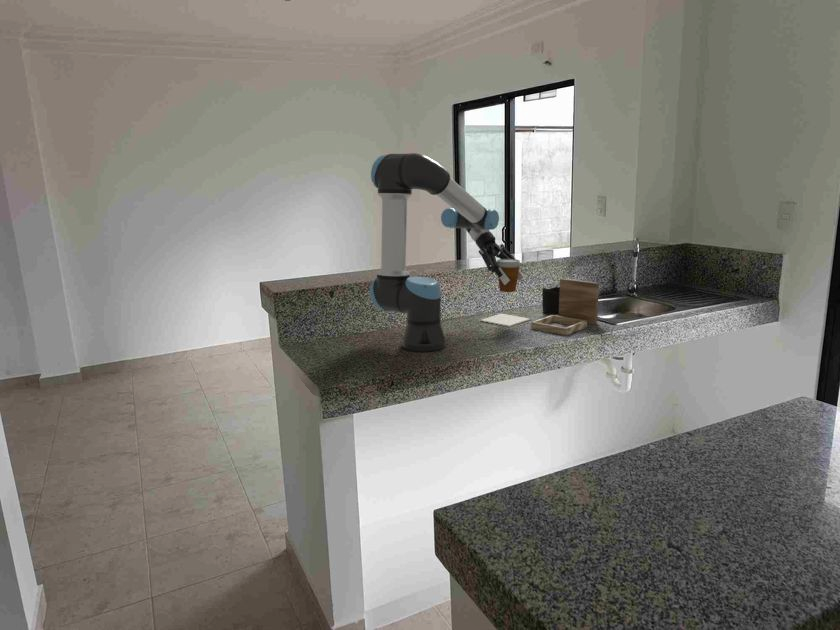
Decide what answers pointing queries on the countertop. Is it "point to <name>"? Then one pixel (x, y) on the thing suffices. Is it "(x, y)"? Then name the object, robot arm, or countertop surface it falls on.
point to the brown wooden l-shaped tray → (572, 307)
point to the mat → (505, 320)
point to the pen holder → (551, 300)
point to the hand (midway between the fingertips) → (514, 280)
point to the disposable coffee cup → (509, 274)
